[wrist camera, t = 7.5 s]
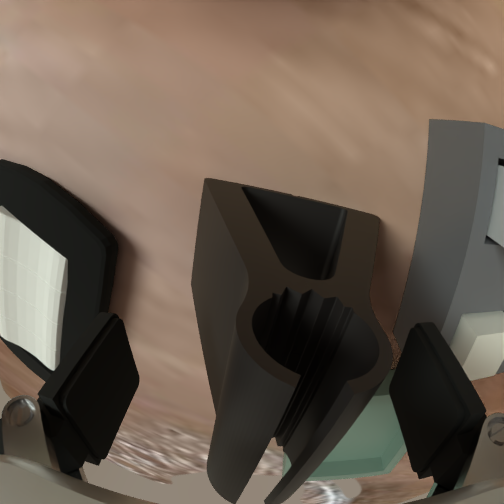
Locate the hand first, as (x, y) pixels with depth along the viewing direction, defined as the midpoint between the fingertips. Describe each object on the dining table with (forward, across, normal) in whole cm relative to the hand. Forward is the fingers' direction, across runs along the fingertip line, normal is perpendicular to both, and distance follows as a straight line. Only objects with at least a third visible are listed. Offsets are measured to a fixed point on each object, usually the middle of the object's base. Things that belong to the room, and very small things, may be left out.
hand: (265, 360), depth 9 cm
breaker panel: (+8, -12, -2) cm, 14 cm away
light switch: (+9, +18, +4) cm, 20 cm away
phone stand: (+8, -1, -1) cm, 8 cm away
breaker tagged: (+5, -11, +2) cm, 12 cm away
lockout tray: (+8, -8, +16) cm, 19 cm away
